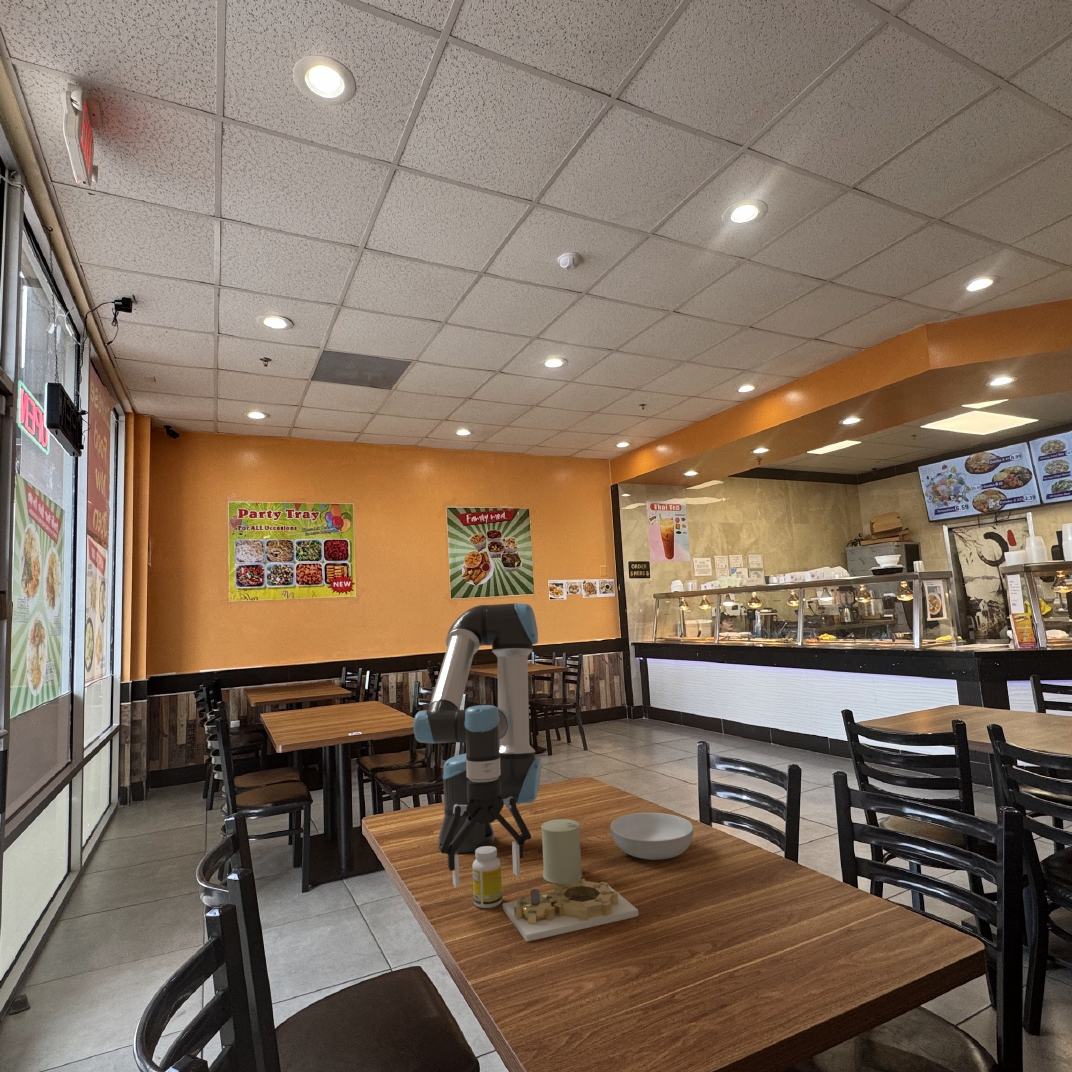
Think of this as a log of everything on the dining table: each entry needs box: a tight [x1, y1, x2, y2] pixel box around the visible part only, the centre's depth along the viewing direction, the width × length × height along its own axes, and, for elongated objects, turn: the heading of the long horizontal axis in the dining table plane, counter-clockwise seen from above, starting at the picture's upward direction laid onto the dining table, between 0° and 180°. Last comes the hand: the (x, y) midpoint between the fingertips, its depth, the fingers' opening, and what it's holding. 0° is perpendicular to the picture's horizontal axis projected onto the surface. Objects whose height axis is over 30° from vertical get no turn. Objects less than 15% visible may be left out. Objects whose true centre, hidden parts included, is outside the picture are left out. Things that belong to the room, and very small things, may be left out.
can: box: [540, 818, 583, 885], centre depth 156 cm, size 9×9×12 cm
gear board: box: [502, 884, 639, 942], centre depth 137 cm, size 15×24×1 cm, turn 110°
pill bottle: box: [471, 845, 503, 909], centre depth 144 cm, size 6×6×11 cm
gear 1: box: [514, 888, 557, 924], centre depth 135 cm, size 8×9×4 cm
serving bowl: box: [609, 812, 694, 861], centre depth 168 cm, size 21×21×7 cm
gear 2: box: [545, 878, 619, 921], centre depth 138 cm, size 14×14×2 cm
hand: (486, 880), depth 143 cm, fingers open, 13 cm apart
